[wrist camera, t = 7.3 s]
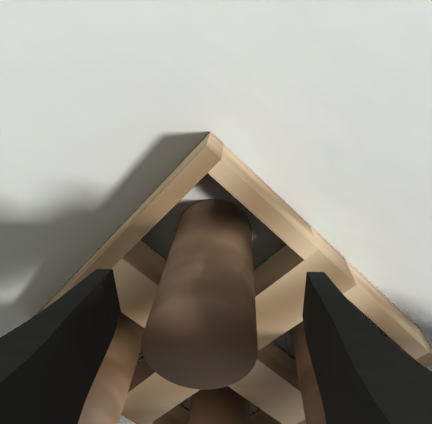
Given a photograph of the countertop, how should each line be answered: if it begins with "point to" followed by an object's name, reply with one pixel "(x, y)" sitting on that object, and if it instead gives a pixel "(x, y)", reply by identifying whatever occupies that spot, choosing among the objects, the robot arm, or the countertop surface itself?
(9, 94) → the countertop surface
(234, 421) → the stool seat
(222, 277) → the loose leg
